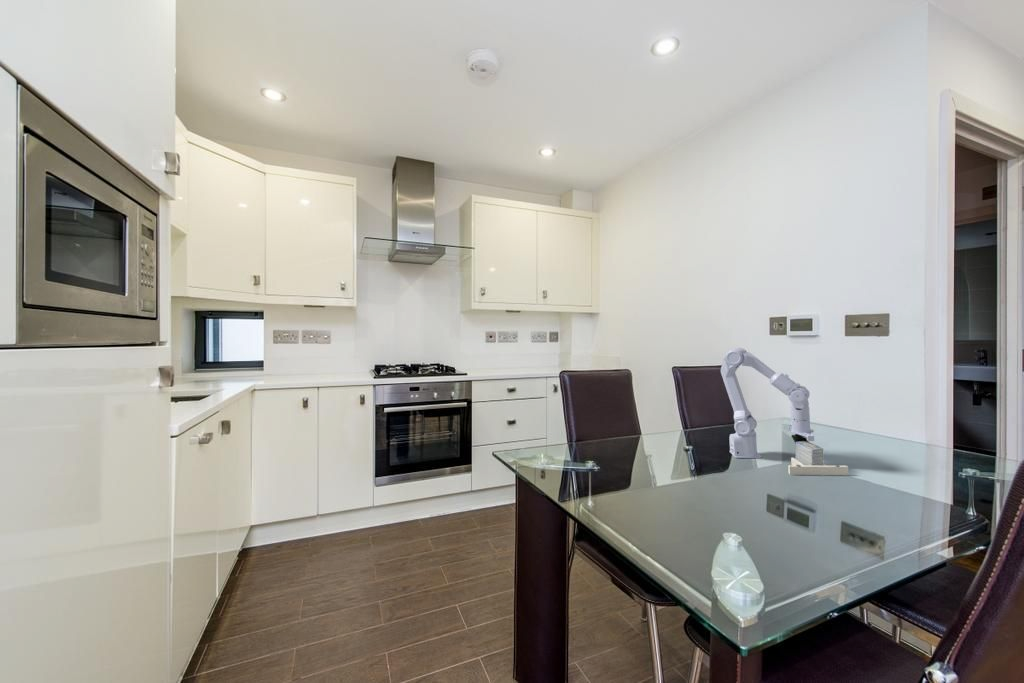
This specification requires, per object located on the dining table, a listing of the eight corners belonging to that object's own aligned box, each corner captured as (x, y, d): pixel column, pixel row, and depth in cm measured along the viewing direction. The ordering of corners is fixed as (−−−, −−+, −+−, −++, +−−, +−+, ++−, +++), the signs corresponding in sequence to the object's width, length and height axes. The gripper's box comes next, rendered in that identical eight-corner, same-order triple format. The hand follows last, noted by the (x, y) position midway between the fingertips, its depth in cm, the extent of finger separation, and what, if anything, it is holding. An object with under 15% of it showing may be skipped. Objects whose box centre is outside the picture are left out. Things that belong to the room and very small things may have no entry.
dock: (790, 474, 141) (789, 465, 141) (776, 464, 151) (776, 455, 151) (848, 475, 137) (848, 466, 137) (830, 464, 148) (830, 455, 147)
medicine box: (823, 471, 142) (824, 448, 141) (811, 472, 142) (812, 449, 141) (806, 462, 150) (806, 440, 149) (794, 463, 150) (795, 441, 149)
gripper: (823, 423, 142) (824, 460, 142) (802, 413, 156) (803, 447, 156) (801, 424, 143) (802, 460, 144) (782, 414, 157) (783, 447, 158)
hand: (801, 453), depth 150 cm, fingers closed, pressing on medicine box
